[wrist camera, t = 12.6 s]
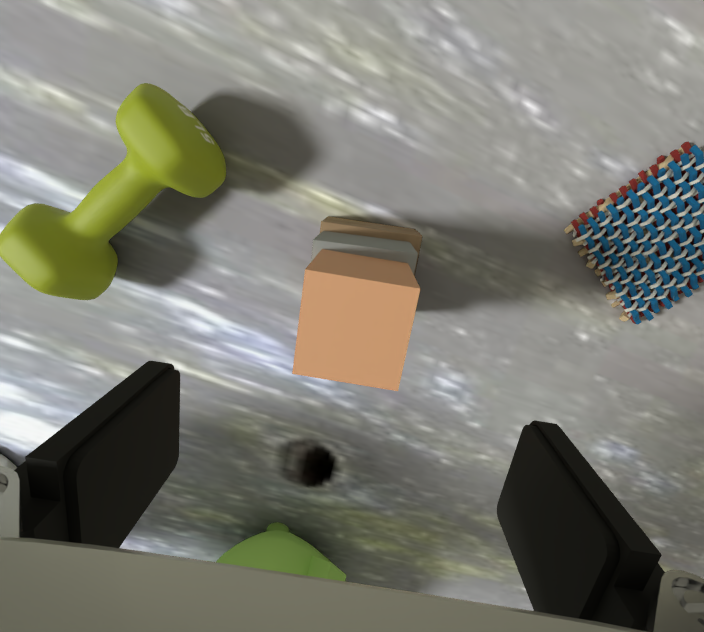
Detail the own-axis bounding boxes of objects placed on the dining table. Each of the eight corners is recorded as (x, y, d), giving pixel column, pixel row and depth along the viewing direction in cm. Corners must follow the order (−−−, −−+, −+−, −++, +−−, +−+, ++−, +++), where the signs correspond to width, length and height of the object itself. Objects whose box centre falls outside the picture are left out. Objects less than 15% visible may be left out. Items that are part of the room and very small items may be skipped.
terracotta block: (391, 342, 24) (397, 390, 18) (311, 329, 24) (292, 373, 18) (408, 263, 23) (420, 288, 17) (321, 248, 23) (305, 269, 17)
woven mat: (683, 135, 29) (705, 131, 27) (741, 248, 31) (766, 253, 29) (556, 224, 31) (568, 227, 30) (619, 324, 34) (634, 332, 32)
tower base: (399, 310, 34) (404, 331, 29) (319, 299, 34) (310, 317, 29) (414, 228, 32) (422, 236, 27) (328, 216, 32) (321, 221, 27)
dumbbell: (180, 85, 29) (121, 54, 22) (250, 175, 31) (216, 172, 24) (43, 221, 33) (-43, 230, 26) (113, 295, 35) (50, 322, 28)
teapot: (266, 636, 47) (230, 789, 35) (177, 574, 45) (106, 715, 33) (387, 551, 42) (393, 695, 30) (295, 475, 40) (262, 599, 28)
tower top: (396, 323, 29) (400, 349, 24) (315, 312, 29) (304, 337, 24) (409, 241, 27) (417, 253, 22) (323, 230, 27) (313, 239, 22)
